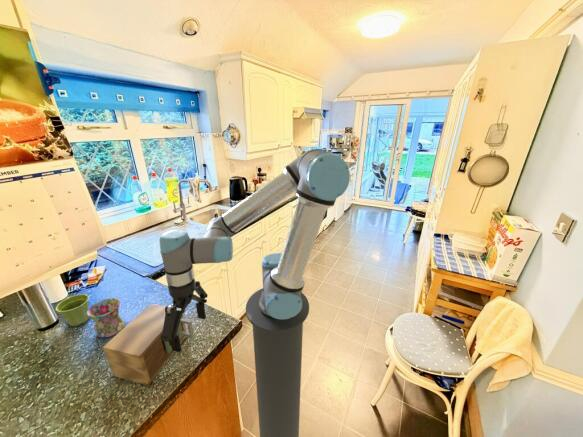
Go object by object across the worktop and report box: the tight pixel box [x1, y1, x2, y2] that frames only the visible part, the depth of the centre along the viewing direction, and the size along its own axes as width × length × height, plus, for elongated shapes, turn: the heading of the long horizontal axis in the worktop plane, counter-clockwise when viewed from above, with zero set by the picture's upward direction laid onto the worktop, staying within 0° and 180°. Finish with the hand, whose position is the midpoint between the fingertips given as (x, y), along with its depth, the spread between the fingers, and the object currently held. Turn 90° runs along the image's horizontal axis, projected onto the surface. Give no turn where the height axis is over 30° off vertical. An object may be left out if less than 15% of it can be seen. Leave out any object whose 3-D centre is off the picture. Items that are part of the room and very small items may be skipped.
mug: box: [87, 297, 126, 339], centre depth 83 cm, size 12×9×11 cm
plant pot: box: [55, 293, 91, 327], centre depth 89 cm, size 9×9×9 cm
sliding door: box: [164, 317, 195, 354], centre depth 77 cm, size 6×7×10 cm
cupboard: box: [102, 303, 187, 386], centre depth 75 cm, size 12×18×12 cm
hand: (190, 333), depth 78 cm, fingers open, 13 cm apart
